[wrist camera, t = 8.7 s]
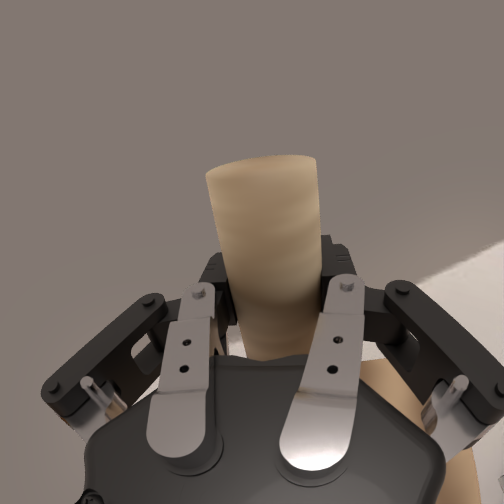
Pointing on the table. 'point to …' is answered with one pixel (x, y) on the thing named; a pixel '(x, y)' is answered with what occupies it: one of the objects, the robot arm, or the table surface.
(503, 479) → the hard drive
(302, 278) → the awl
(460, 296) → the table surface
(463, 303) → the table surface
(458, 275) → the table surface
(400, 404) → the board
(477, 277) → the table surface
